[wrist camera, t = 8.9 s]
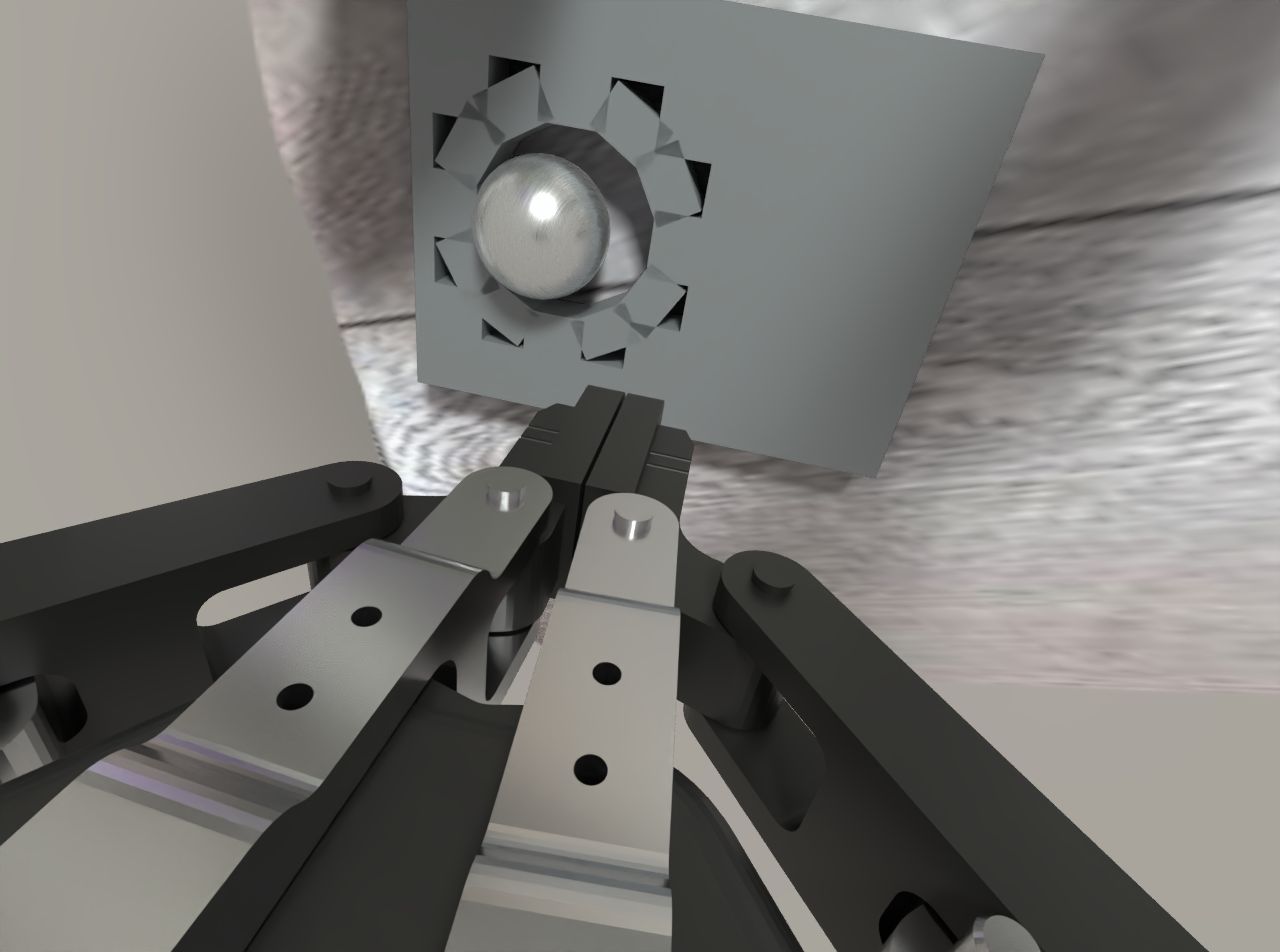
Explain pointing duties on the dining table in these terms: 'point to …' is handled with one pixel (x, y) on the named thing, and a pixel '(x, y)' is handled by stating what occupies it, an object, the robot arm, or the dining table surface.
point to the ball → (541, 226)
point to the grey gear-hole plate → (714, 208)
